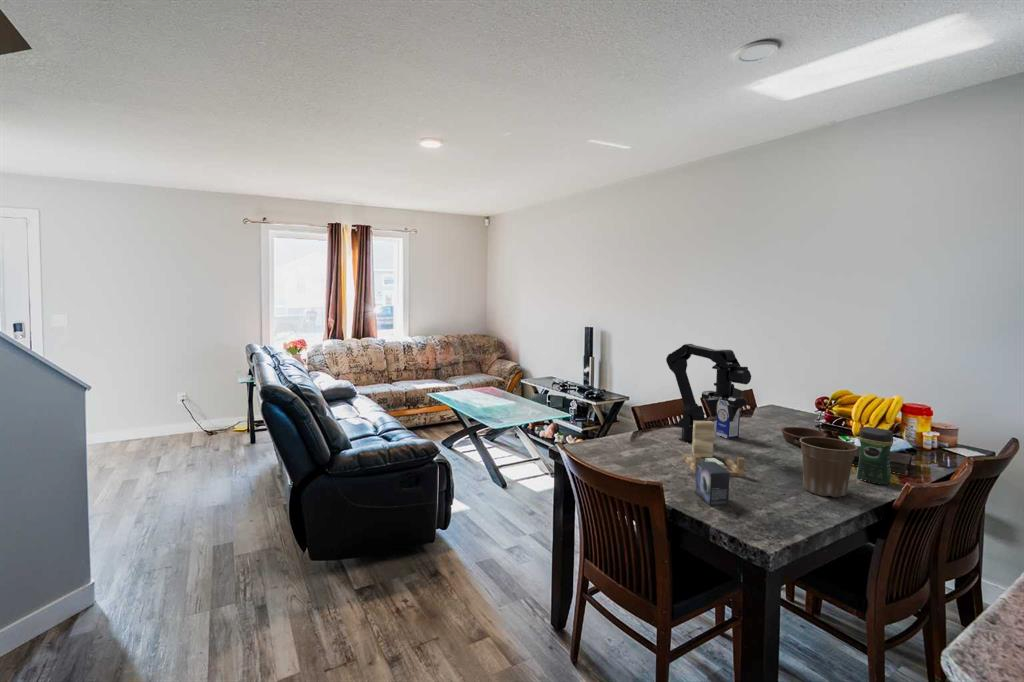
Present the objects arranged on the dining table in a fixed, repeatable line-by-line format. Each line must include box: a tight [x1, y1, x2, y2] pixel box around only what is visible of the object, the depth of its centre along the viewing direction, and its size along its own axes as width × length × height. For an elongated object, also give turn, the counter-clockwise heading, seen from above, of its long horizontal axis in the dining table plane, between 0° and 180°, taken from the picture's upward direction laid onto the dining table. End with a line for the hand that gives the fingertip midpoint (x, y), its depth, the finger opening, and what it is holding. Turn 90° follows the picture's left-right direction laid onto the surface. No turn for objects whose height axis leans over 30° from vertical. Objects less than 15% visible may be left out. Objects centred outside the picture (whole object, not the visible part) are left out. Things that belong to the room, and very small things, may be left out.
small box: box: [695, 461, 731, 507], centre depth 165 cm, size 11×6×10 cm, turn 5°
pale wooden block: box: [691, 420, 715, 458], centre depth 206 cm, size 4×7×14 cm, turn 85°
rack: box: [684, 454, 745, 478], centre depth 192 cm, size 17×16×7 cm
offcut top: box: [704, 457, 725, 468], centre depth 190 cm, size 4×7×2 cm, turn 9°
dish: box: [780, 426, 827, 447], centre depth 230 cm, size 18×22×5 cm
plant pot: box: [800, 437, 858, 498], centre depth 172 cm, size 16×16×16 cm
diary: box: [852, 445, 913, 474], centre depth 203 cm, size 19×25×5 cm
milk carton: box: [715, 397, 741, 440], centre depth 236 cm, size 7×7×20 cm
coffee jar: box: [856, 425, 894, 485], centre depth 183 cm, size 10×8×19 cm
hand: (722, 419), depth 214 cm, fingers open, 9 cm apart
